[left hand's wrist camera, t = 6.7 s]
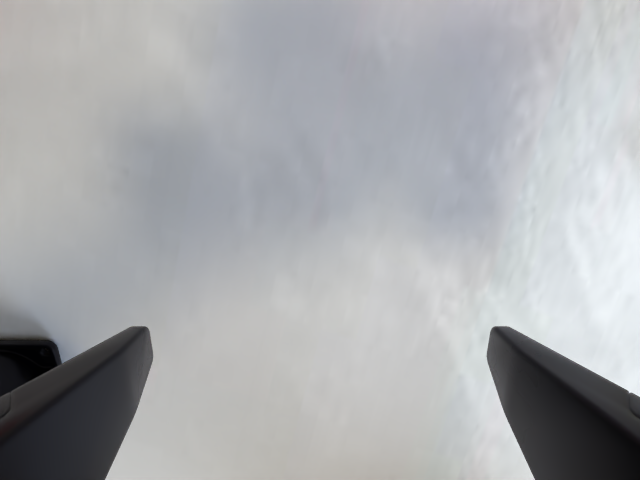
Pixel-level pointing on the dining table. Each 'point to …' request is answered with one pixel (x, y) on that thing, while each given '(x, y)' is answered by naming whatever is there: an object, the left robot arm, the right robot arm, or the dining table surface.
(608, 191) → the dining table surface
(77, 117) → the dining table surface
